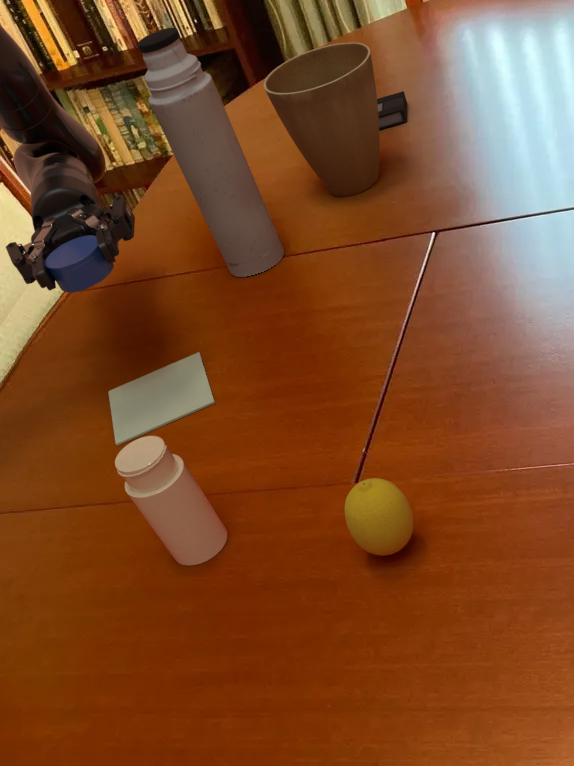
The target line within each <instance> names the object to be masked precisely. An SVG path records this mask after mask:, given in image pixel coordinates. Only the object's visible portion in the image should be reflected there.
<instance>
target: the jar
mask: <svg viewBox="0 0 574 766" xmlns="http://www.w3.org/2000/svg"><path fill="white" fill-rule="evenodd" d="M114 466H115V468H116V472H117V473H118V475H119V476H120V477H122V479H123V480H124V481H125V482H124V490H125V493H126V494H127V495H128V497H129V498H130V500H131V501H132V502H133V504H134V505H135V506H136V508H137V510H138V511H139V513H141V515H142V516H143V518H144V519H145V520H146V522H147V523H148V524H149V526H150V527H151V529H152V530H153V532H154V534H156V536H157V537H158V539H159V540H160V541H161V543H162V544H163V546H164V548H166V549H167V551H168V553H169V554H170V555H171V557H172V558H173V560H174V561H175V562H176V563H178V564H180V565H182V566H188V567H189V566H198V565H201V564H203V563H206V562H208V561H209V560H211V559H213V558H214V557H215V556H217V555H218V554H219V553H220V552H221V551H222V550H223V548H224V547H225V545H226V543H227V541H228V530H227V528H226V526H225V525H224V523H223V522H222V520H221V519H220V517H219V515H218V513H217V512H216V511H215V509H214V507H213V505H212V504H211V503H210V501H209V499H208V498H207V496H206V495H205V493H204V492H203V490H202V488H201V486H200V485H199V484H198V482H197V480H196V479H195V478H194V475H193V474H192V472H191V471H190V470H189V467H188V466H187V465H186V463H185V460H183V458H182V457H180V455H178V454H175V453H172V452H171V449H169V446H168V445H167V444H166V442H165V441H164V439H163V438H162V437H160V436H158V435H146V436H143V437H138V438H137V439H135V440H133V441H131V442H130V443H128V444H126V445H125V446H124V447H123V448H122V449H120V451H119V452H118V454H116V457H115V460H114Z"/></svg>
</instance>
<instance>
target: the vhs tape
mask: <svg viewBox="0 0 574 766" xmlns="http://www.w3.org/2000/svg"><path fill="white" fill-rule="evenodd" d="M377 104H378V117H379V131H380V130H383V129H387V128H390V127H394V126H397V125H400V124H404V123H407V122H408V101H407V98H406V94H405V91H400V92H399V91H398V92H396V93H392V94H389V95H386V96H383V97H379V98H377Z"/></svg>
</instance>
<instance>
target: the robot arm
mask: <svg viewBox="0 0 574 766" xmlns="http://www.w3.org/2000/svg"><path fill="white" fill-rule="evenodd" d="M0 129H2V132H4V134H6V136H7V137H9V138H10V139H11V140H12V141H14V142H15V143H18V144H19V145H18V146H17V147H16V149H15V151H14V154H13V163H14V167H15V171H16V173H17V175H18V177H19V179H20V180H21V182H22V183H23V185H24V186H25V188H27V190H28V191H29V192H30V212H31V221H32V227H33V230H34V232H33V233H32V235H31V237H30V242H28V243H26V244H24V245H23V244H22V243H17V242H16V241H13V242H9V243H8V244H7V245H6V246H5V249H6V252H7V255H8V256H9V259H10V261H11V263H12V265H13V266H14V268H16V270H17V271H18V273H19V274H20V276H21V277H22V279H23V281H24V283H25V284H26V285H31V284H34V283H35V282H36V283H37V284H38V285H39V287H40V288H41V289H45V288H46V289H47V290H48V291H50V292H51V291H53V290H55V289H57V285H56V284H57V283H56V281H55V279H54V278H53V276H52V275H51V273H50V272H49V270H48V269H47V267H46V265H45V261H46V259H47V257H48V256H49V255H50V254H51V253H52V252H53V251H54V250H55V249H56V248H58V247H59V246H61V245H63V244H64V243H66V242H68V241H70V240H73V239H75V238H78V237H82V236H88V235H92V236H96V238H97V242H98V246H99V248H100V250H101V251H102V253H103V255H104V256H105V258H106V260H107V261H108V263H109V264H111V263H113V264H114V263H116V262H117V259H116V257H117V256H119V254H120V249H119V247H120V244H119V241H121V240H122V241H124V242H128V241H131V240H132V239H134V237H135V227H136V226H135V225H136V224H135V223H136V216H135V214H134V213H133V211H132V208H131V207H130V205H129V204H128V202H127V199H126V198H125V196H124V194H123V195H122V194H121V195H120V194H119V195H116V196H115V197H114V198H113V199H112V203H110V204H109V205H108V208H106V209H104V208H103V205H102V200H101V197H100V196H101V195H100V193H99V191H98V189H97V187H96V184H97V183H99V182H100V181H101V180H102V179H103V177H104V175H105V173H106V167H107V166H106V164H107V163H106V158H105V154H104V152H103V150H102V147H101V146H100V144H99V142H98V141H97V140H96V138H95V137H94V136H93V135H92V133H90V132H89V130H88V129H87V128H86V127H84V126H83V125H82V124H81V123H80V122H79V121H78V120H77V119H75V118H74V117H73V116H72V115H71V114H69V112H68V111H66V110H65V109H64V108H63V107H62V106H61V105H60V104H59V103H58V101H57V100H56V99H55V98H54V96H53V95H52V93H51V92H50V90H49V88H48V86H47V85H46V84H45V82H44V80H43V79H42V77H41V75H40V74H39V72H38V71H37V69H36V67H35V65H34V64H33V63H32V61H31V60H30V58H29V57H28V56H27V54H26V53H25V52H24V50H23V48H21V46H20V45H19V44H18V42H16V41H15V39H14V38H13V37H12V36H11V35H10V34H9V32H8V31H7V29H5V28H4V27H3V25H1V24H0ZM111 221H112V222H111Z"/></svg>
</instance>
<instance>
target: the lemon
mask: <svg viewBox="0 0 574 766" xmlns="http://www.w3.org/2000/svg"><path fill="white" fill-rule="evenodd" d="M344 519H345V524H346V527H347V530H348V531H349V534H350V535H351V537H352V538H353V541H354V542H355V543H356V544H357V545H358V546H359V547H360V548H361V549H362V550H364V551H365V552H367V553H369V554H371V555H375V556H390V555H394V554H395V553H398V552H400V551H401V550H402V549H403V548H404V547H405V546H406V545H407V544H408V543H409V541H410V540H411V537H412V534H413V531H414V515H413V510H412V508H411V505H410V502H409V501H408V499H407V497H406V496H405V494H404V493H403V492H402V491H401V489H400V488H399V487H398V486H397V485H395V484H394V483H393V482H391V481H389V480H387V479H384V478H379V477H376V478H375V477H373V478H367V479H363V480H362V481H360V482H358V483H356V485H354V486H353V487H352V489H350V490H349V492H348V494H347V496H346V498H345V502H344Z"/></svg>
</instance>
